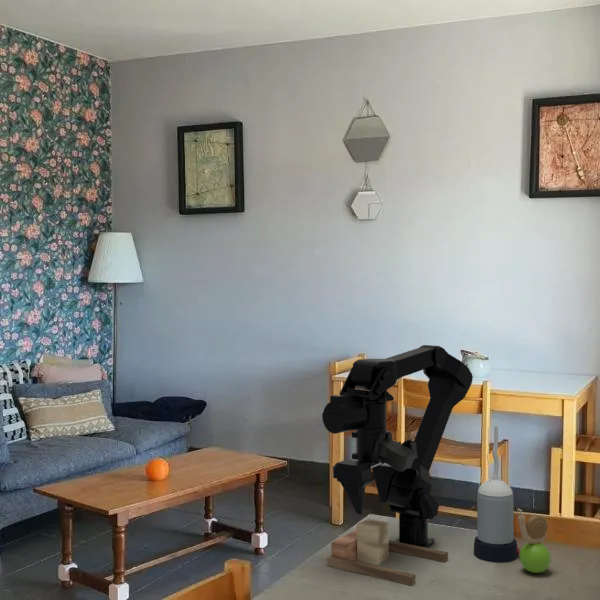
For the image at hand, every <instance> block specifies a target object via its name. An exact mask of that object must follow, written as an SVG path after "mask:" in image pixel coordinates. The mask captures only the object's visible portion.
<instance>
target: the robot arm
mask: <svg viewBox="0 0 600 600" xmlns="http://www.w3.org/2000/svg"><path fill="white" fill-rule="evenodd" d="M421 371H422V373H423V374H424V375H425V376H426V378H427V379H428V382H427V389H428V393H429V400H428V404H427V405H426V408H425V410H424V413H423V416H422V419H421V421H420V424H419V427H418V429H417V431H416V434H415V437H414V440H412V439H411V438H409V439H406V440H404V441H403V442H401V441H395V440H393V433H392V432H391V431H390V430H387V402H392V401H393V400H394V399H395V397H394V396H393V395H392V394H390V393H389V392H388V390H390V388H392V387H394V386H395V385H396V384H397V381H398V380H400V379H401V378H403V377H406V376H409V375H412V374H415V373H418V372H421ZM473 377H474V376H473V373H472V372H471V370H470V367H468V365H466V364H465V363H463V361H461V360H459V359H458V358H456V357H455V356H453V355H451V354H450V353H449V352H447V350H446V349H445V348H444V347H442V346H440V345H431V344H430V345H429V344H423V345H421V346H419V347H417V348H415V349H411V350H408V351H405V352H402V353H399V354H396V355H392V356H389V357H387V358H360V359H357V360H355V361H354V362H353V364H352V367H351V369H350V371H349V373H348V375H347V377H346V379H345V381H344V383H343V384H342V387H341V390H340V391H339V395H337V394H333V395H330V397H329V402H328V403H327V404H325V406H324V409H323V411H322V413H321V415H322V416H321V417H322V419H321V420H322V423H323V425H324V427H325V429H326V431H328V432H329V433H330V434H334V435H335V434H340V433H346V432H351V438H353V439H355V452H353V453H351V459H343V460H340V461H339V462H336V463H335V464H334V465H333V466H332V478H333V479H336V481H337V483H338V482H339V483H340V485H341V487H342V488H343V490H344V492H345V494H346V495H347V498H348V499H349V502H350V504H351V506H352V508H353V510H354V512H355V514H357V515H359V516H360V515H363V511H364V505H365V504H364V502H365V491H366V487H367V486H368V485H369V484H370V483H371V481H372V479H370V477H371V475H372V473H373V478H374V482H375V484H376V485H375V486H376V490H377V494H378V498H379V500H380V503H383V504H385V503H387V504H388V509H389V511H390V512H391V513H397V514H398V515H399V516H398V535H399V536H398V538H397V539H395V540H394V541H395V542H400V543H405V544H410V545H415V546H420V547H425V548H428V547H430V546H431V545H433V544H434V543H436V540H435V538H429V520H433V519H435V517H437V515H438V512H439V506H440V504H439V502H437V501H436V499H435V498H434V497H433V496H432V495H431V490H432V487H433V484H432V479H431V474H430V470H431V468H432V464H433V462H434V459H435V457H436V453H437V451H438V448H439V446H440V443H441V441H442V438H443V434H444V432H445V429H446V426H447V424H448V422H449V420H450V416H451V413H452V411H453V409H454V407H455V406H456V405H457V404H458V403H461V402H462V401H463V400H464V399H465V398H466V395H467V393H468V392H469V390H470V388H471V386H472V384H473V381H474V380H473Z"/></svg>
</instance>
